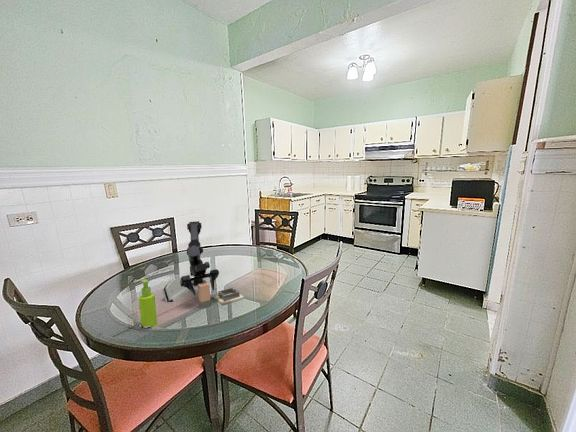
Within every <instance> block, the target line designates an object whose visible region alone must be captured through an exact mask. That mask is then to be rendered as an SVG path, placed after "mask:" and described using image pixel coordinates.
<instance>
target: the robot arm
mask: <svg viewBox="0 0 576 432" xmlns="http://www.w3.org/2000/svg"><path fill="white" fill-rule="evenodd" d="M188 222H189V223H187V224H186V228H187V230H188V232H189V233H190V241H189V243H188V245H187V246H188V247H187V248H186V256H188V261H189V262H188V263H189V265H190V266H189V274H188V275H187V274H186V275H184V276H181V277H180V278H181V280H180V285H181V286H184V287H187V288H188V289H189V290H190V291H189V292H191V293H192V295H194V296H195V295H196V290H195V287H194V286H198V284H200V283H204V282H203V281H204V279H207V278H209V284H210V287H211V288H212V291H214V290H215V280H216V279H218V277H219V274H220V272H219V269H217V268H216V269H211V270H209V273H207V270H208V269H209V268H210V267H211V266H210V261H205V262H204V261H202V259H201V256H202V254H203V253H204V248H203V247H202V246H201V242H200V237H199V235H200V233H201V229H202V222H200V221H188ZM191 276H192V277H191Z"/></svg>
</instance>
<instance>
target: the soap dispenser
mask: <svg viewBox="0 0 576 432" xmlns="http://www.w3.org/2000/svg"><path fill="white" fill-rule="evenodd" d="M138 282H140V283H142V285H143V287H142V288H141V295H139V297H138V301H139V302H138V305H139V312H140V322H141V323H140V325H141V327H142V326H153V327H155V326H157V324H158V318H157V309H156V297H155V293H152V291H151V289H152V288H151V286H149V283H150V280H148V279H145V278H144V279H141V280H138ZM154 325H155V326H154Z"/></svg>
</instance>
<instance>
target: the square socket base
mask: <svg viewBox="0 0 576 432" xmlns="http://www.w3.org/2000/svg"><path fill="white" fill-rule="evenodd" d="M217 293H218V294H216V295H214V296H213V298H214V299H215V300H216V301H217V302H218V303H219V304H220V305H221V306H225V305H228V304H231V303H234V302H235V303H236V302H238V301H241V300H244V299H245V296H244V295H242V294H241V293H240V291H238V290H237V289H235V288H234V287H229V288H226V289H222V290H220V291H217Z"/></svg>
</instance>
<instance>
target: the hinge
mask: <svg viewBox="0 0 576 432" xmlns="http://www.w3.org/2000/svg"><path fill="white" fill-rule="evenodd" d="M180 280H181V277H179V278H175V279H172V280H170V281H168V282H166V284H165V285H164V286H163V288H162V289H161V292H162V295H163V298H164V302H165V303H168V302H169V301H172V302H173V303H175V302H176V301H177V300H179V299H180V298H181V297H183V296H185V294H187V293H188V292H191V291H190V290H189V289H188V288H187V287H184V286H181V285H180Z"/></svg>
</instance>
